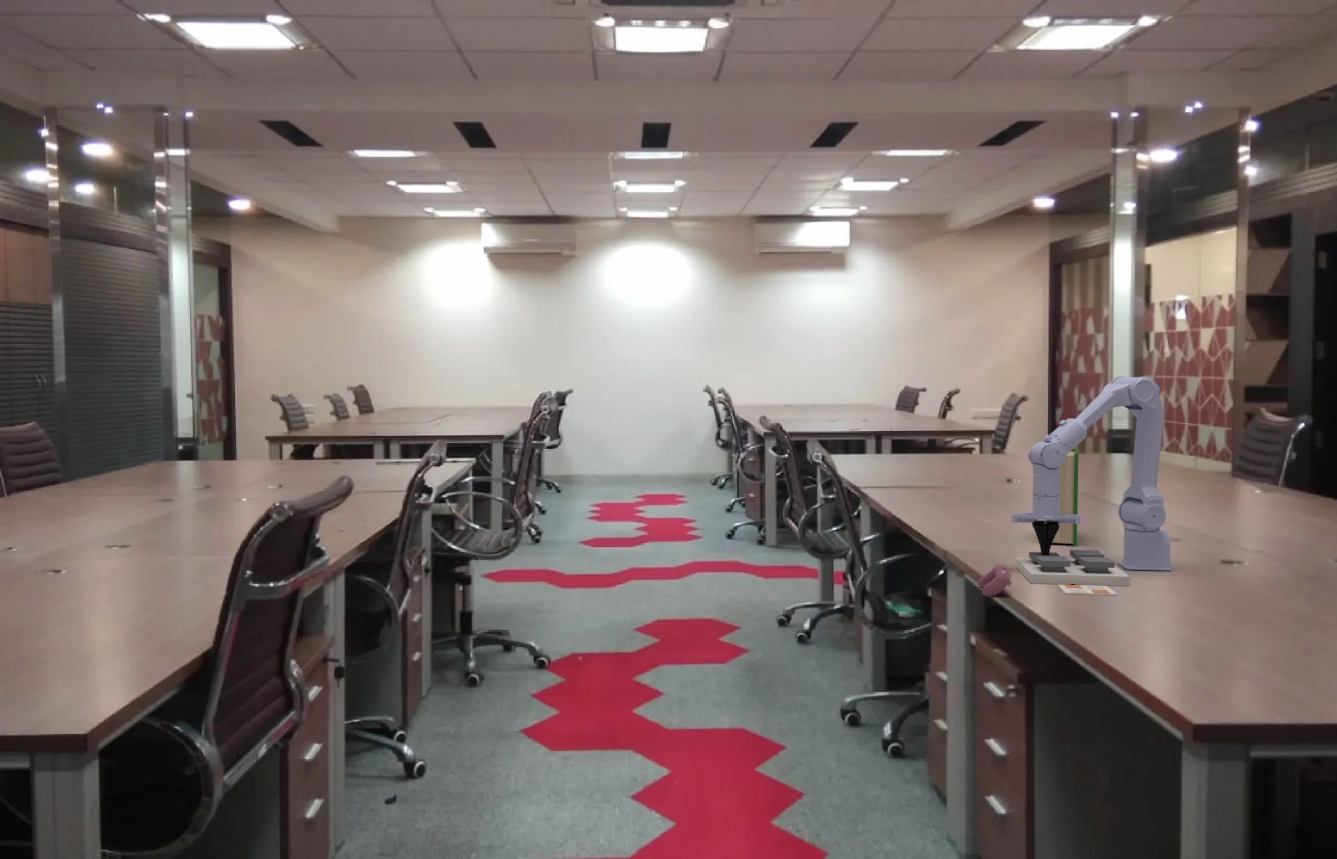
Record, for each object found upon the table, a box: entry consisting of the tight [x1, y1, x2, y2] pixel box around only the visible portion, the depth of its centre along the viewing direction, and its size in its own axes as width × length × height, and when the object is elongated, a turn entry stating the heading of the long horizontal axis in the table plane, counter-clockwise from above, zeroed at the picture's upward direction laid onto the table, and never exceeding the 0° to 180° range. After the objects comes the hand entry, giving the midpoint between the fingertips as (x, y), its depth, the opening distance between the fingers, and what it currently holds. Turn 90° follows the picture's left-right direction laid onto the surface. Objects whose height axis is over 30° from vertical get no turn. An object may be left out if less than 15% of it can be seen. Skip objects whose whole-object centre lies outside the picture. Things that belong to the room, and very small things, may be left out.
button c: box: [1079, 556, 1116, 573], centre depth 229 cm, size 6×6×3 cm
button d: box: [1036, 555, 1071, 572], centre depth 231 cm, size 6×6×3 cm
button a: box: [1069, 549, 1105, 565], centre depth 238 cm, size 6×6×3 cm
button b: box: [1028, 551, 1061, 564], centre depth 240 cm, size 6×6×3 cm
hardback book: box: [1050, 448, 1079, 548], centre depth 281 cm, size 18×7×24 cm, turn 159°
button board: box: [1015, 557, 1131, 587], centre depth 235 cm, size 20×20×2 cm
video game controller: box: [977, 563, 1013, 597], centre depth 218 cm, size 10×5×7 cm, turn 169°
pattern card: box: [1056, 584, 1118, 596], centre depth 219 cm, size 10×8×1 cm
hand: (1045, 554), depth 240 cm, fingers closed, pressing on button b
